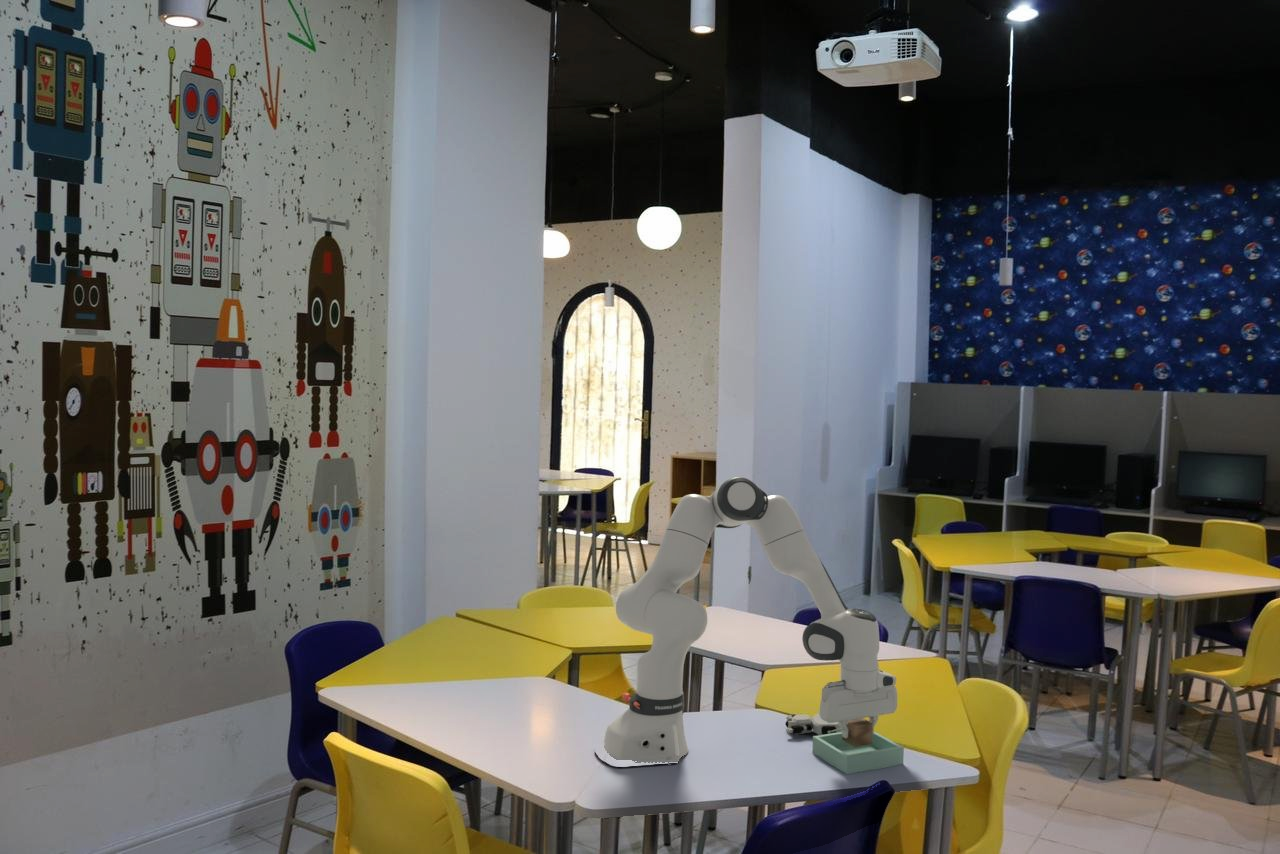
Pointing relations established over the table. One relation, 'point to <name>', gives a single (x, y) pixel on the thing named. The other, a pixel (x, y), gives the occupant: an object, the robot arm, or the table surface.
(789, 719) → the robot toy
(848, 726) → the block
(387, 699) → the table surface
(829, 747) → the tray
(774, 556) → the robot arm
